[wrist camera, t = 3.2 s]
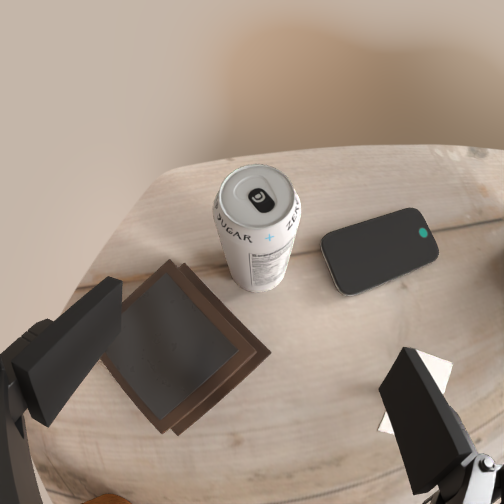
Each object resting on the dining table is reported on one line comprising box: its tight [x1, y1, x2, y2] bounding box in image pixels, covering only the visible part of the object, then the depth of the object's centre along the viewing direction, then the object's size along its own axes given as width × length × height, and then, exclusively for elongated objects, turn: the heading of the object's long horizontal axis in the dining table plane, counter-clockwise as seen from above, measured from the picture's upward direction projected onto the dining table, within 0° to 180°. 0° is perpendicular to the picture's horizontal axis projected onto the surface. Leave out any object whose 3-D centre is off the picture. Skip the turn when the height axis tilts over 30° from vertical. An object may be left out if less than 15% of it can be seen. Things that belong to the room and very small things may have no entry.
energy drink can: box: [213, 164, 301, 293], centre depth 26 cm, size 6×6×15 cm
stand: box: [100, 259, 271, 436], centre depth 26 cm, size 13×13×7 cm
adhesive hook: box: [378, 347, 453, 435], centre depth 25 cm, size 3×3×3 cm
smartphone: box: [320, 208, 439, 296], centre depth 32 cm, size 8×1×15 cm
